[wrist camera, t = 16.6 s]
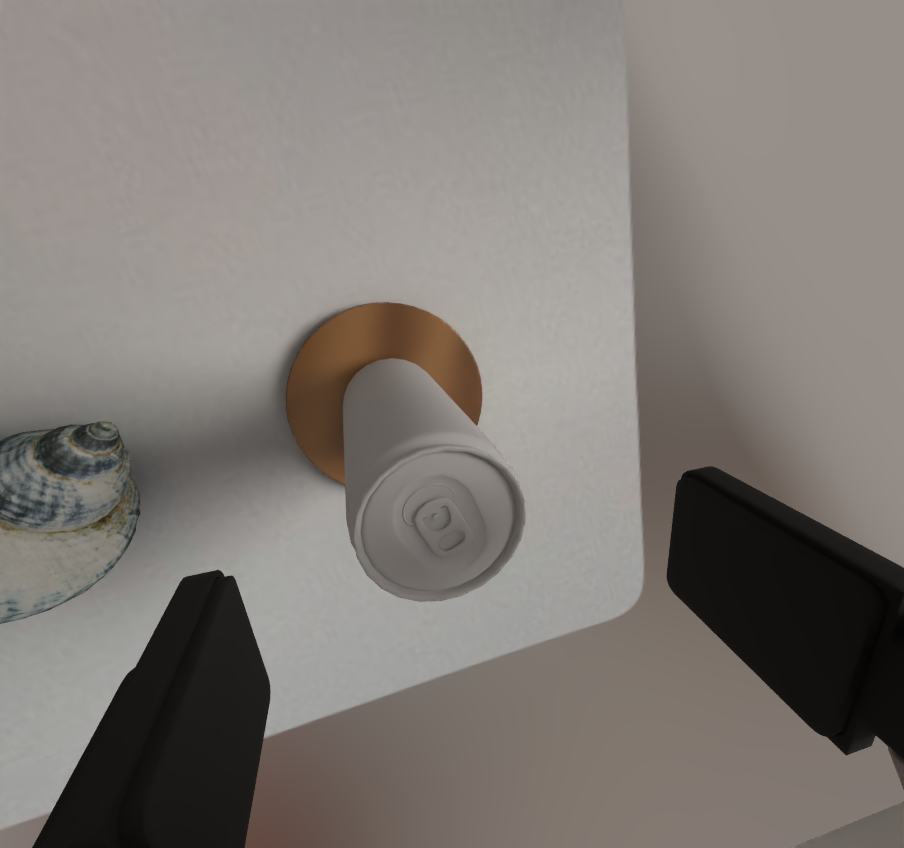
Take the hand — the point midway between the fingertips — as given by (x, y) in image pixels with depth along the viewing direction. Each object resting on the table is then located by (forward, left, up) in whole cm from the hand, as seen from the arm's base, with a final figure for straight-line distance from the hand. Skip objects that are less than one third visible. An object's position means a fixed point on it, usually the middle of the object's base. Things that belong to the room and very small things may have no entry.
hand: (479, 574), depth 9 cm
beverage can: (0, 0, -14) cm, 14 cm away
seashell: (+16, +2, -15) cm, 22 cm away
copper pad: (0, 0, -15) cm, 15 cm away
